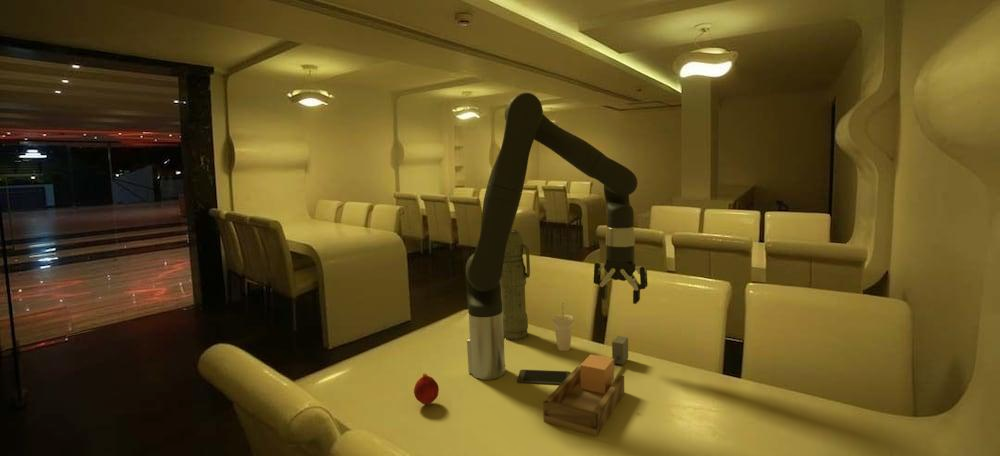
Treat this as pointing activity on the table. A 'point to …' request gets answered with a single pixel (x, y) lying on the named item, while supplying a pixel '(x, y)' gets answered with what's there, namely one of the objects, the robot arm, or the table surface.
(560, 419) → the wooden crate
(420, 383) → the onion
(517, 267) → the thermos
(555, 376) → the cell phone
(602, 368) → the block
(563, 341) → the smoothie
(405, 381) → the table surface
